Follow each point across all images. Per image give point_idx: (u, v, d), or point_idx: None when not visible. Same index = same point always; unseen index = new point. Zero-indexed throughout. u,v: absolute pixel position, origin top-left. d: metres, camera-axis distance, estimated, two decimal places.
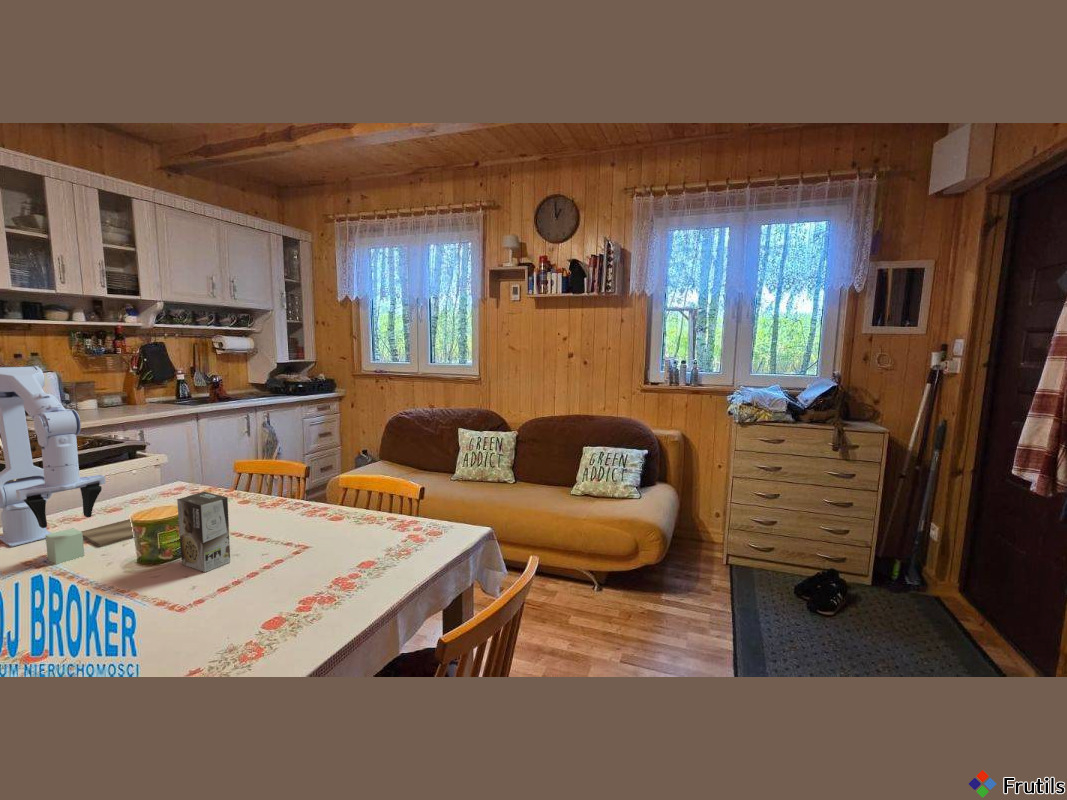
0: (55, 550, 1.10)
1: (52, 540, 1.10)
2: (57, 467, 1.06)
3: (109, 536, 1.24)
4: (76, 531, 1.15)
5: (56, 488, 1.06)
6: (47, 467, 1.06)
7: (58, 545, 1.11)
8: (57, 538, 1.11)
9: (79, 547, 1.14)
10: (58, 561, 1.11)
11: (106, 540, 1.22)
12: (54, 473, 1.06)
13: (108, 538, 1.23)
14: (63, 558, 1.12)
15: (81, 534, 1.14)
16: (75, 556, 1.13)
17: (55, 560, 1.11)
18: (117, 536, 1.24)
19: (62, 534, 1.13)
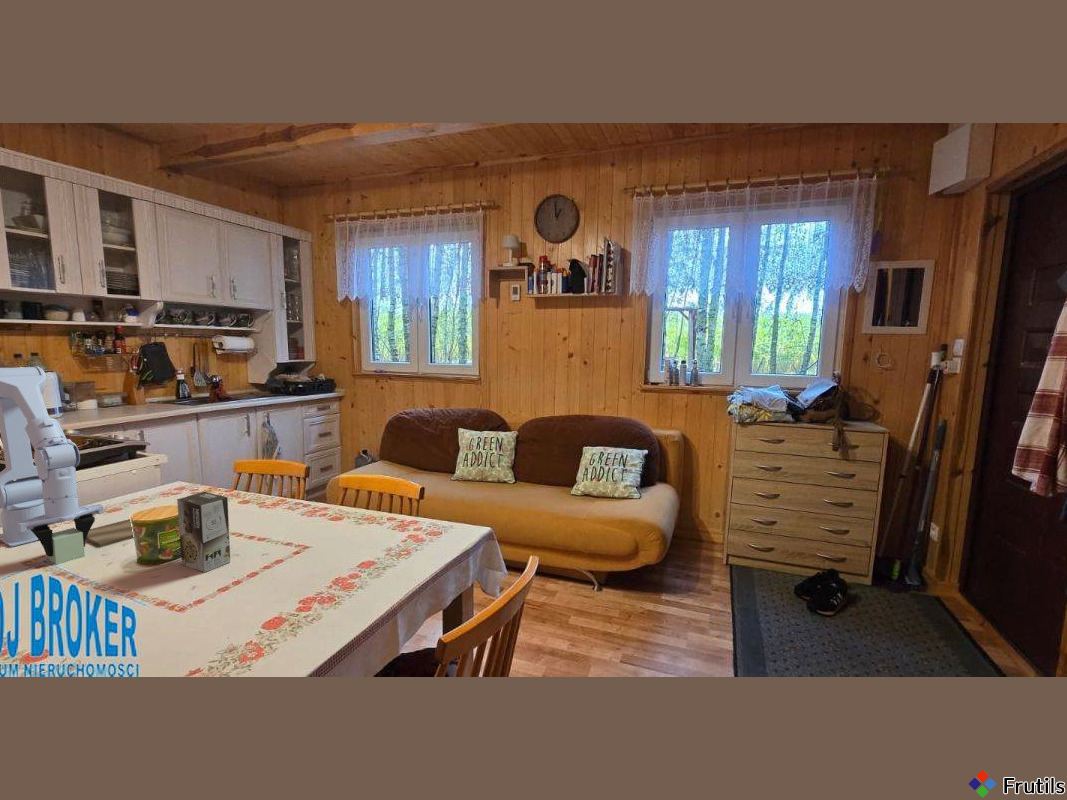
0: (55, 550, 1.10)
1: (52, 540, 1.10)
2: (57, 499, 1.10)
3: (109, 536, 1.24)
4: (76, 531, 1.15)
5: (56, 519, 1.10)
6: (47, 499, 1.09)
7: (58, 545, 1.11)
8: (57, 538, 1.11)
9: (79, 547, 1.14)
10: (58, 561, 1.11)
11: (106, 540, 1.22)
12: (54, 505, 1.09)
13: (108, 538, 1.23)
14: (63, 558, 1.12)
15: (81, 534, 1.14)
16: (75, 556, 1.13)
17: (55, 560, 1.11)
18: (117, 536, 1.24)
19: (63, 534, 1.13)
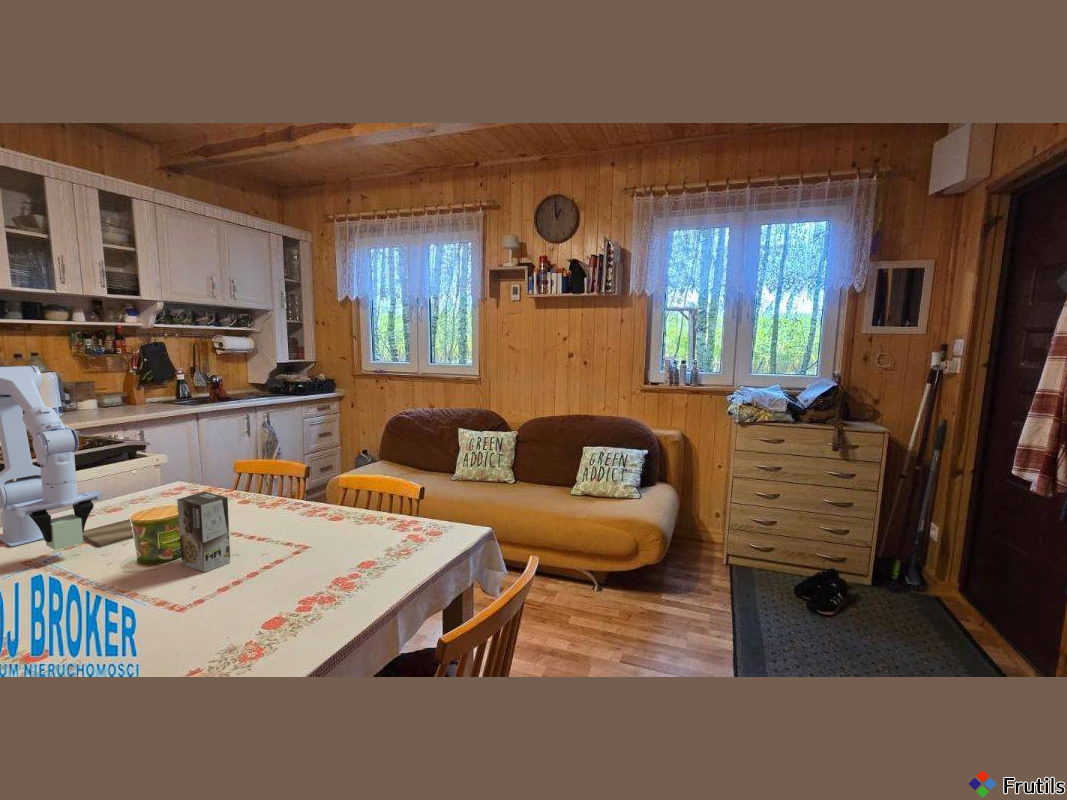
0: (53, 536, 1.10)
1: (51, 525, 1.10)
2: (55, 484, 1.09)
3: (109, 536, 1.24)
4: (75, 517, 1.14)
5: (55, 505, 1.09)
6: (46, 484, 1.09)
7: (57, 531, 1.10)
8: (56, 524, 1.10)
9: (78, 533, 1.13)
10: (57, 546, 1.10)
11: (106, 540, 1.22)
12: (53, 490, 1.09)
13: (108, 538, 1.23)
14: (62, 544, 1.11)
15: (80, 520, 1.14)
16: (74, 542, 1.13)
17: (54, 545, 1.10)
18: (117, 536, 1.24)
19: (61, 520, 1.12)
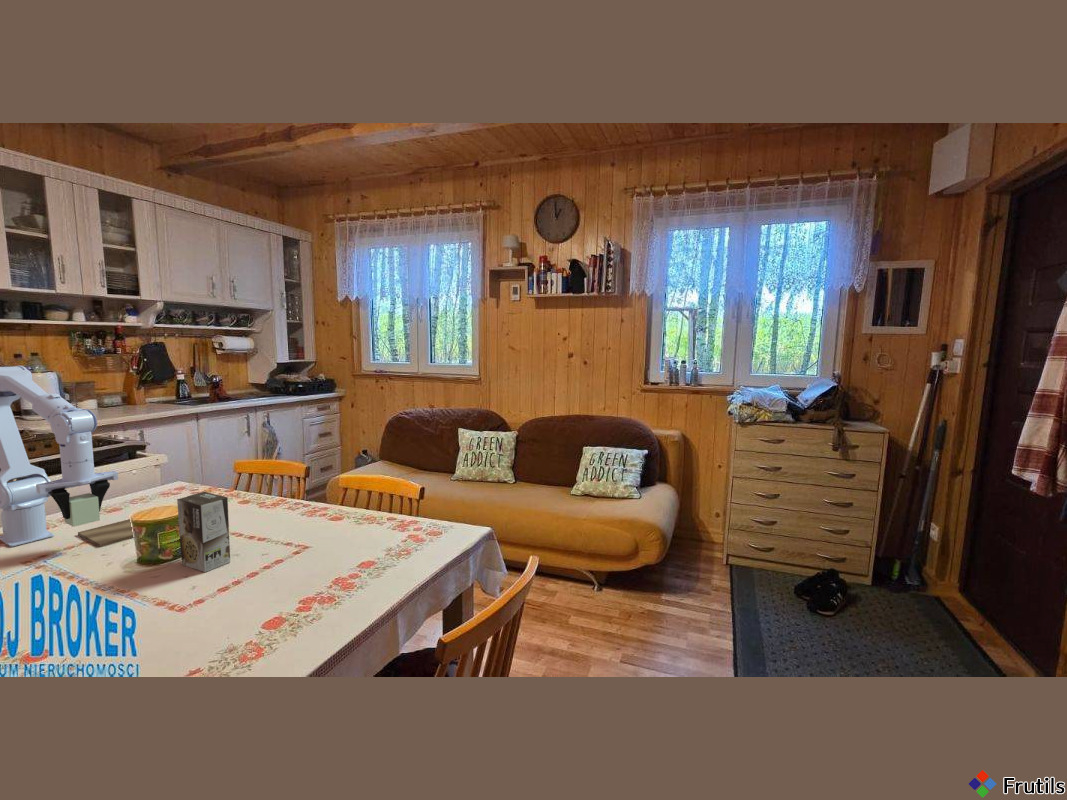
0: (71, 513, 1.14)
1: (69, 503, 1.14)
2: (74, 463, 1.13)
3: (109, 536, 1.24)
4: (92, 495, 1.18)
5: (73, 483, 1.13)
6: (65, 463, 1.13)
7: (75, 508, 1.14)
8: (74, 501, 1.14)
9: (95, 511, 1.18)
10: (75, 523, 1.15)
11: (106, 540, 1.22)
12: (71, 469, 1.13)
13: (108, 538, 1.23)
14: (79, 520, 1.15)
15: (97, 498, 1.18)
16: (91, 519, 1.17)
17: (72, 522, 1.14)
18: (117, 536, 1.24)
19: (79, 498, 1.16)
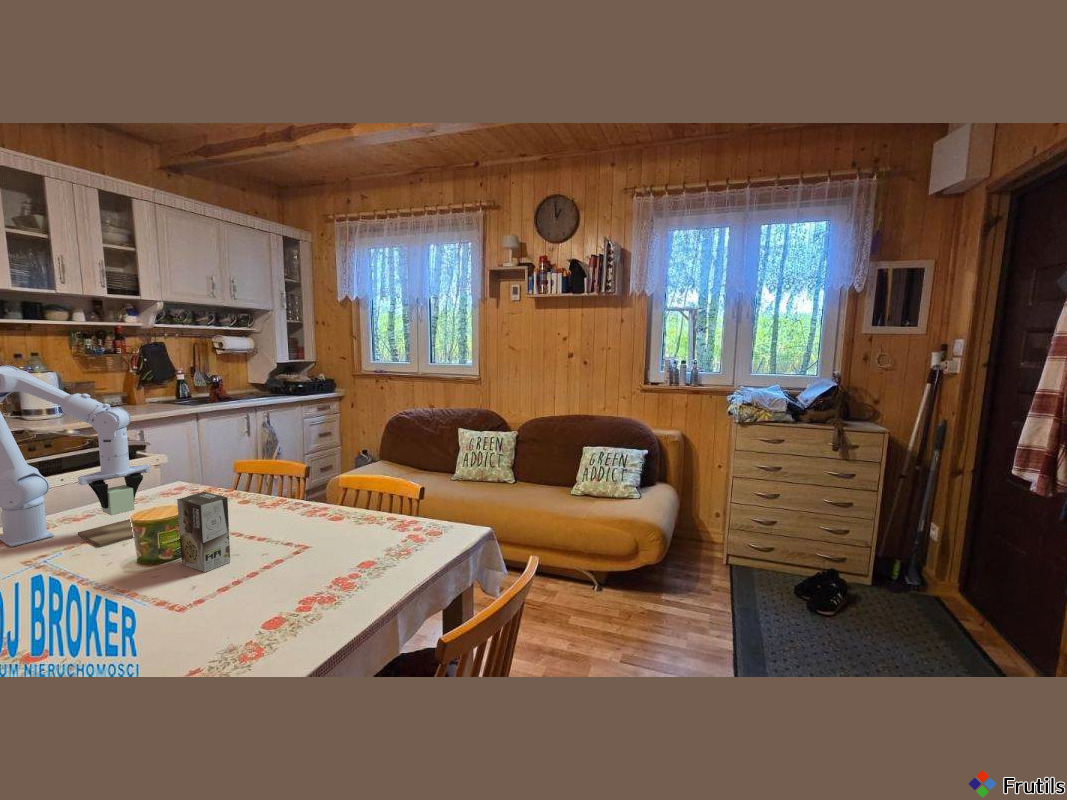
0: (110, 502, 1.24)
1: (107, 493, 1.24)
2: (112, 457, 1.23)
3: (109, 536, 1.24)
4: (127, 487, 1.29)
5: (111, 475, 1.24)
6: (103, 457, 1.23)
7: (113, 498, 1.24)
8: (112, 492, 1.24)
9: (130, 501, 1.28)
10: (112, 512, 1.25)
11: (106, 540, 1.22)
12: (109, 462, 1.23)
13: (108, 538, 1.23)
14: (117, 510, 1.25)
15: (132, 489, 1.28)
16: (127, 509, 1.27)
17: (110, 511, 1.24)
18: (117, 536, 1.24)
19: (116, 489, 1.26)
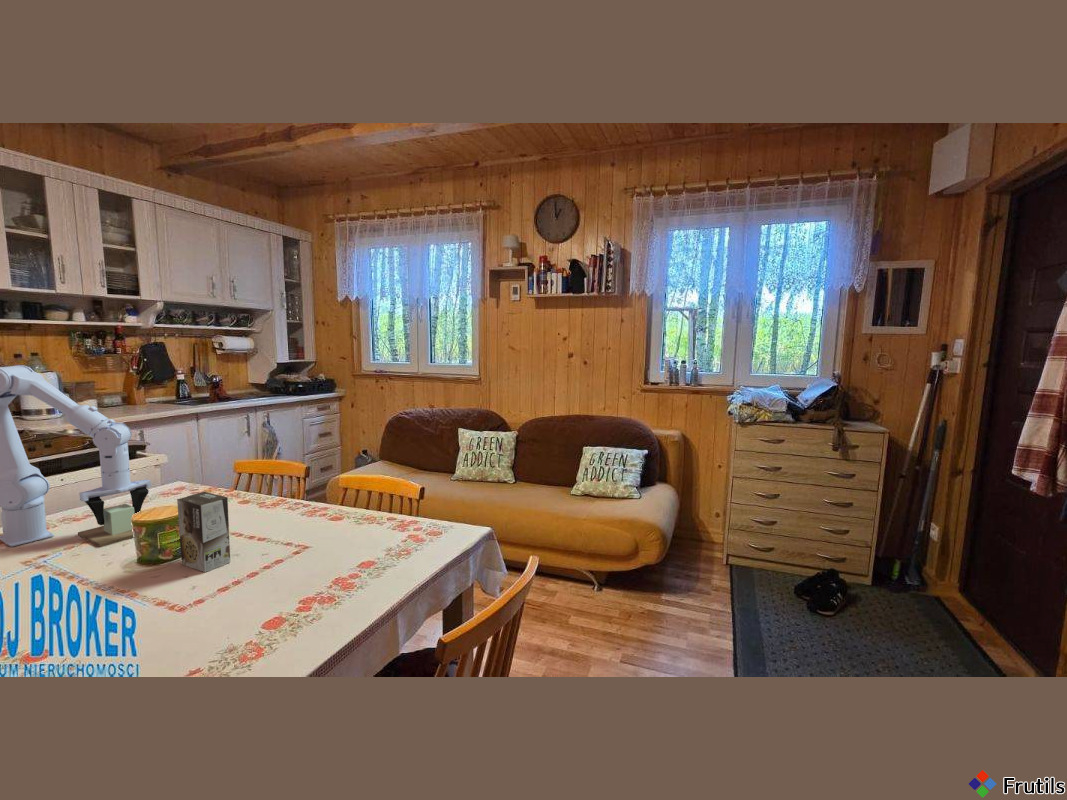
0: (111, 522, 1.25)
1: (109, 513, 1.25)
2: (113, 473, 1.24)
3: (109, 536, 1.24)
4: (128, 506, 1.29)
5: (112, 491, 1.24)
6: (105, 473, 1.24)
7: (114, 518, 1.25)
8: (113, 511, 1.25)
9: None
10: (114, 532, 1.25)
11: (106, 540, 1.22)
12: (111, 478, 1.24)
13: (108, 538, 1.23)
14: (118, 529, 1.26)
15: (133, 508, 1.28)
16: (128, 528, 1.28)
17: (111, 531, 1.25)
18: (117, 536, 1.24)
19: (117, 508, 1.27)
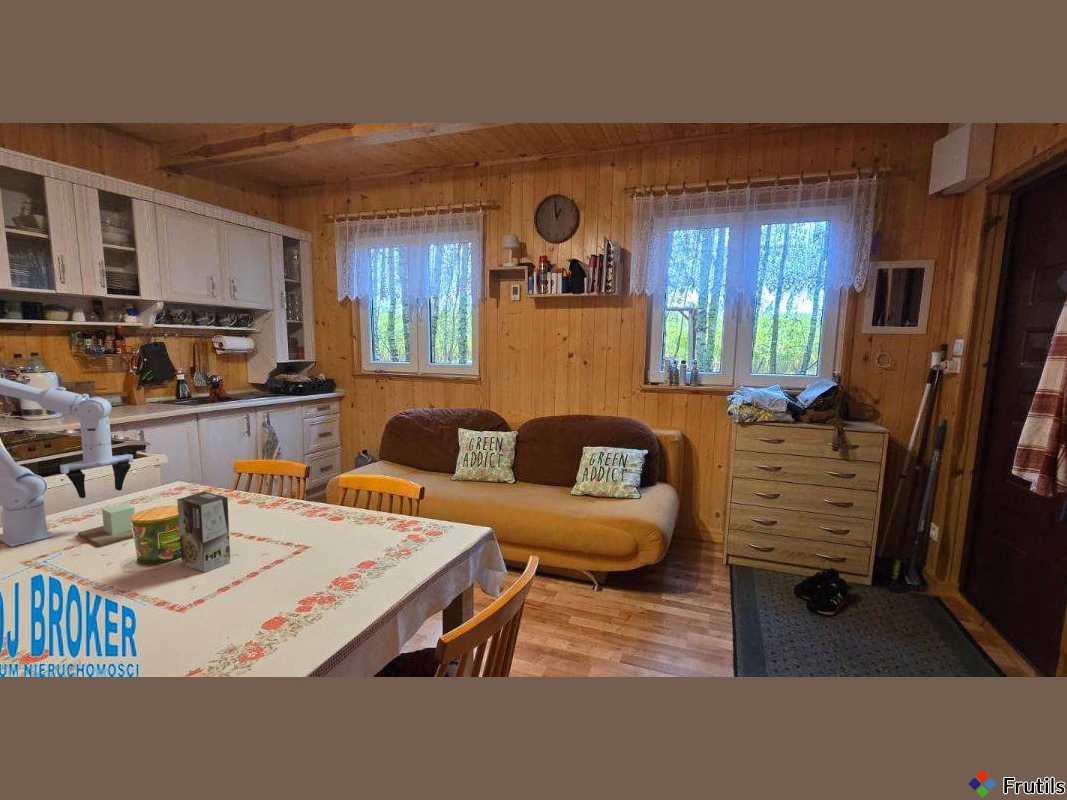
0: (111, 522, 1.25)
1: (109, 513, 1.25)
2: (94, 446, 1.24)
3: (109, 536, 1.24)
4: (128, 506, 1.29)
5: (93, 464, 1.24)
6: (85, 446, 1.24)
7: (114, 518, 1.25)
8: (113, 511, 1.25)
9: None
10: (114, 532, 1.25)
11: (106, 540, 1.22)
12: (91, 451, 1.24)
13: (108, 538, 1.23)
14: (118, 529, 1.26)
15: (133, 508, 1.28)
16: (128, 528, 1.28)
17: (111, 531, 1.25)
18: (117, 536, 1.24)
19: (117, 508, 1.27)
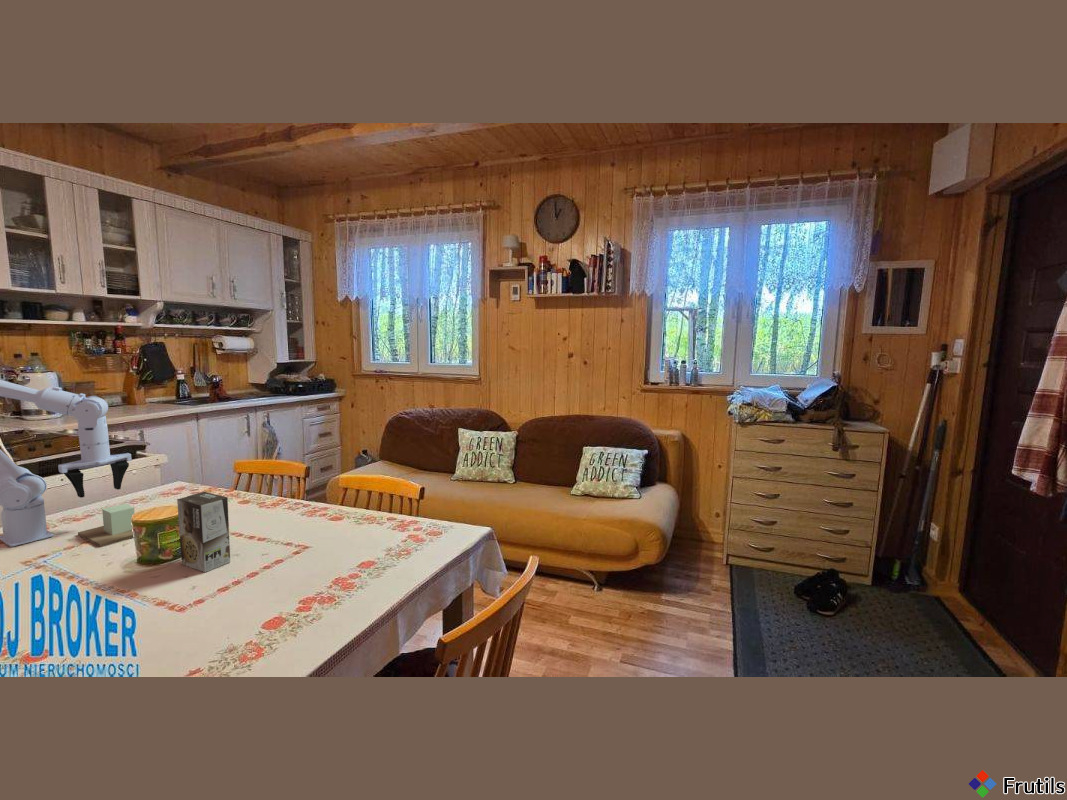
0: (111, 522, 1.25)
1: (109, 513, 1.25)
2: (92, 445, 1.24)
3: (109, 536, 1.24)
4: (128, 506, 1.29)
5: (91, 463, 1.24)
6: (83, 445, 1.24)
7: (114, 518, 1.25)
8: (113, 511, 1.25)
9: None
10: (114, 532, 1.25)
11: (106, 540, 1.22)
12: (89, 450, 1.24)
13: (108, 538, 1.23)
14: (118, 529, 1.26)
15: (133, 508, 1.28)
16: (128, 528, 1.28)
17: (111, 531, 1.25)
18: (117, 536, 1.24)
19: (117, 508, 1.27)
